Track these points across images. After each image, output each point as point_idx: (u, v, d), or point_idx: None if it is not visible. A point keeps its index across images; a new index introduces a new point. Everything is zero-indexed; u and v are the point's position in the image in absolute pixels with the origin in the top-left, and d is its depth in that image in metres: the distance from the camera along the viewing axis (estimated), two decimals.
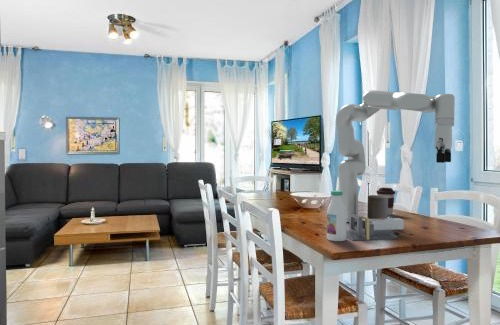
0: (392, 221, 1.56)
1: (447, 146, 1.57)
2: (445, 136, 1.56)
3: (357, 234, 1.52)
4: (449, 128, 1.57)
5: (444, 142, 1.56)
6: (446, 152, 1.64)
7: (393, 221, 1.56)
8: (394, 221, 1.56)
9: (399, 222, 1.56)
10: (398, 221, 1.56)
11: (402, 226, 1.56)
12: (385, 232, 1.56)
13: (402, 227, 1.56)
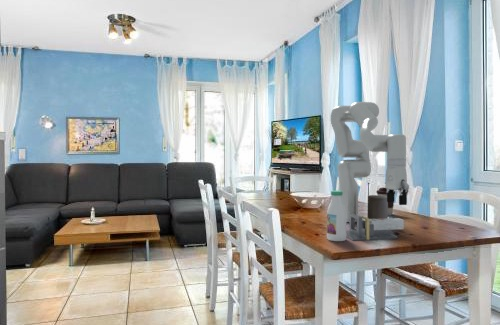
0: (392, 221, 1.56)
1: None
2: (406, 178, 1.53)
3: (357, 234, 1.52)
4: None
5: None
6: (390, 192, 1.62)
7: (393, 221, 1.56)
8: (394, 221, 1.56)
9: (399, 222, 1.56)
10: (398, 221, 1.56)
11: (402, 226, 1.56)
12: (385, 232, 1.56)
13: (402, 227, 1.56)
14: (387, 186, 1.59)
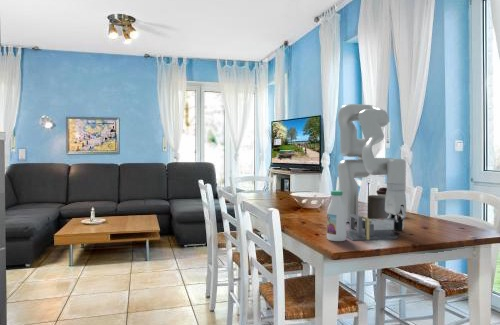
0: (392, 221, 1.56)
1: None
2: (405, 203, 1.53)
3: (357, 234, 1.52)
4: None
5: (405, 209, 1.53)
6: None
7: (393, 221, 1.56)
8: (394, 221, 1.56)
9: None
10: None
11: None
12: (385, 232, 1.56)
13: None
14: (386, 210, 1.60)
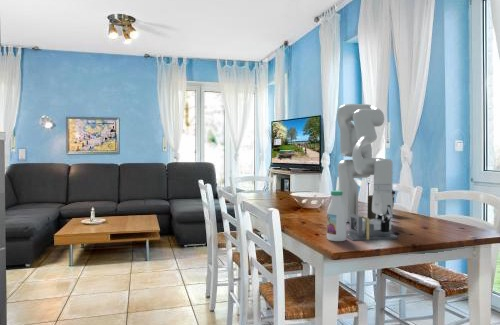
0: (379, 221, 1.55)
1: None
2: (392, 203, 1.52)
3: (357, 234, 1.52)
4: None
5: (392, 209, 1.52)
6: (379, 218, 1.59)
7: (380, 221, 1.55)
8: (381, 221, 1.55)
9: None
10: None
11: (389, 226, 1.55)
12: (385, 232, 1.56)
13: (389, 227, 1.55)
14: (373, 210, 1.59)
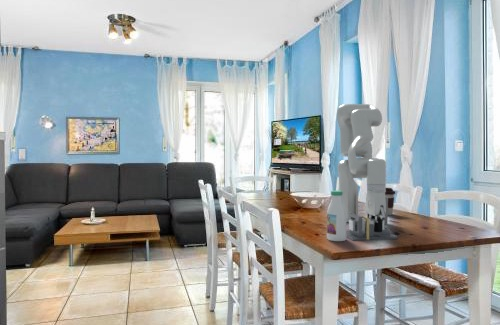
0: (373, 222, 1.54)
1: None
2: (385, 203, 1.52)
3: (357, 234, 1.52)
4: None
5: (384, 209, 1.52)
6: (373, 218, 1.59)
7: (374, 222, 1.54)
8: (375, 222, 1.55)
9: None
10: None
11: (383, 227, 1.55)
12: (385, 232, 1.56)
13: (383, 228, 1.55)
14: (367, 210, 1.59)
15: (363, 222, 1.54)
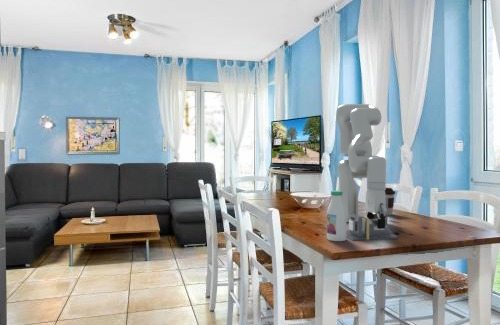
0: (373, 222, 1.54)
1: None
2: (385, 201, 1.52)
3: (357, 234, 1.52)
4: None
5: (384, 207, 1.52)
6: (370, 213, 1.62)
7: (374, 222, 1.54)
8: (375, 222, 1.55)
9: None
10: None
11: None
12: (385, 232, 1.56)
13: None
14: (366, 208, 1.59)
15: (363, 222, 1.54)
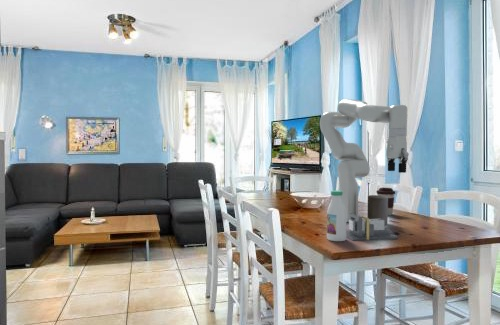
0: (373, 222, 1.54)
1: None
2: (406, 146, 1.59)
3: (357, 234, 1.52)
4: None
5: None
6: (391, 161, 1.69)
7: (374, 222, 1.54)
8: (375, 222, 1.55)
9: (380, 223, 1.55)
10: (379, 222, 1.55)
11: (383, 227, 1.55)
12: (385, 232, 1.56)
13: (383, 228, 1.55)
14: (388, 155, 1.66)
15: (363, 222, 1.54)
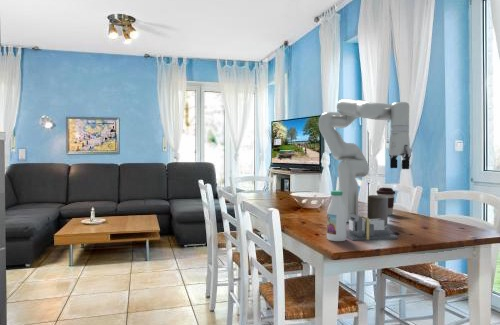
0: (373, 222, 1.54)
1: None
2: (409, 143, 1.60)
3: (357, 234, 1.52)
4: None
5: None
6: (393, 158, 1.69)
7: (374, 222, 1.54)
8: (375, 222, 1.55)
9: (380, 223, 1.55)
10: (379, 222, 1.55)
11: (383, 227, 1.55)
12: (385, 232, 1.56)
13: (383, 228, 1.55)
14: (390, 152, 1.67)
15: (363, 222, 1.54)
